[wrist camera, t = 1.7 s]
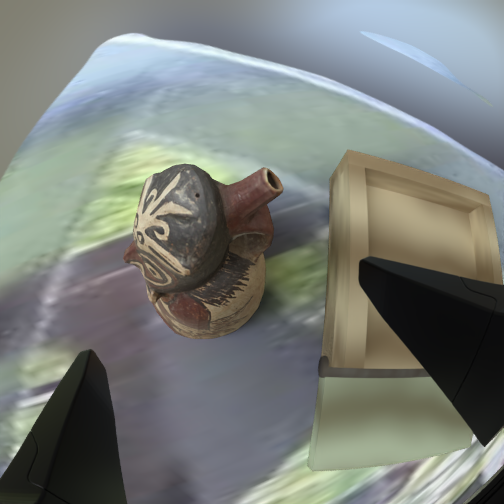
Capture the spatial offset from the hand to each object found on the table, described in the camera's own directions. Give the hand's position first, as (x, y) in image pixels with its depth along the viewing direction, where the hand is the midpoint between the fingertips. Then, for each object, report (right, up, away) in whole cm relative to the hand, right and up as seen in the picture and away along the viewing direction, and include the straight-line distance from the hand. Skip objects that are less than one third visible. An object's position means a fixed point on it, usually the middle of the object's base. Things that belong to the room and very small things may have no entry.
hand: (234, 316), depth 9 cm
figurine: (-2, 0, +11) cm, 11 cm away
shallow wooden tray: (+12, -3, +12) cm, 17 cm away
